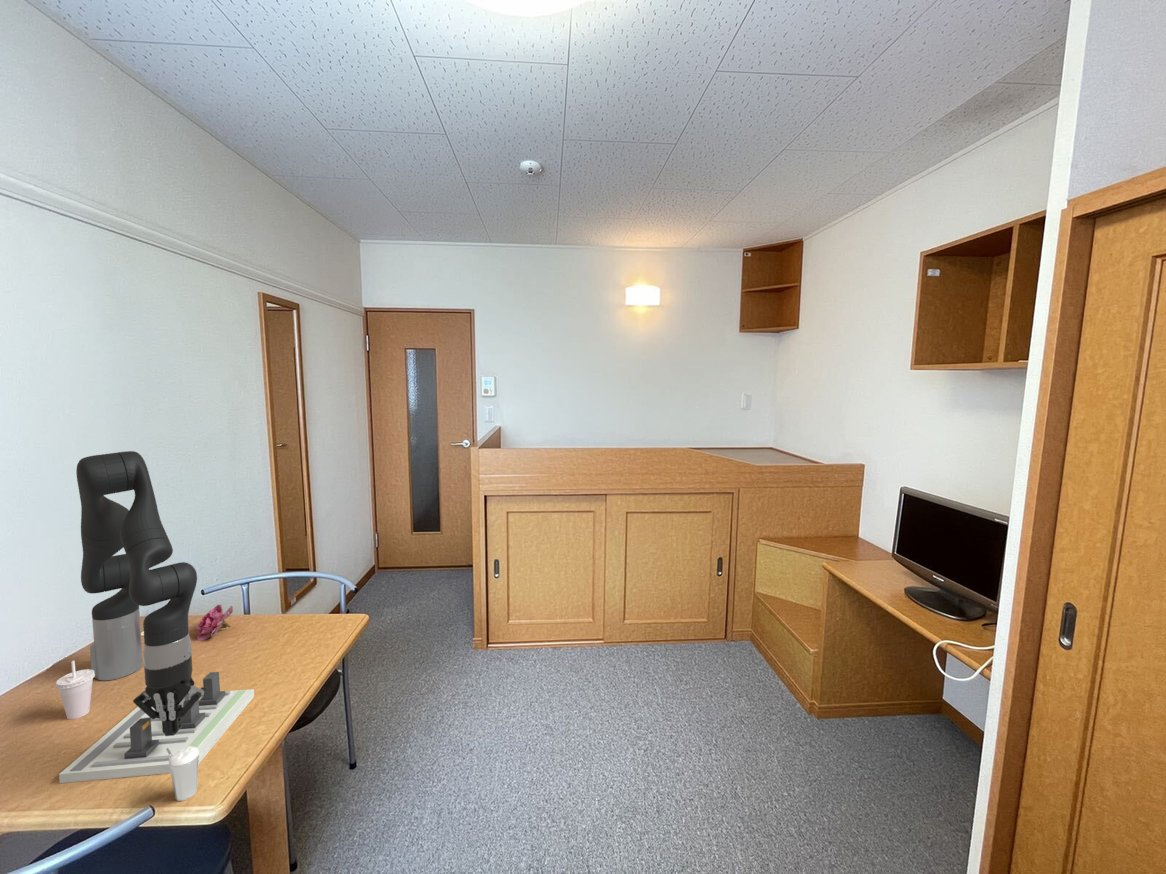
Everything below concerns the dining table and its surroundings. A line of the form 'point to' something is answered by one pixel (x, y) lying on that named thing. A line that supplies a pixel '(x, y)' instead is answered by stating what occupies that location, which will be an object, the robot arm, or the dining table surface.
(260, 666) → the dining table surface
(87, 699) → the smoothie
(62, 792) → the dining table surface
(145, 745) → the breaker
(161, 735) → the panel
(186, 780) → the milkshake
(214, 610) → the flower
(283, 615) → the dining table surface
